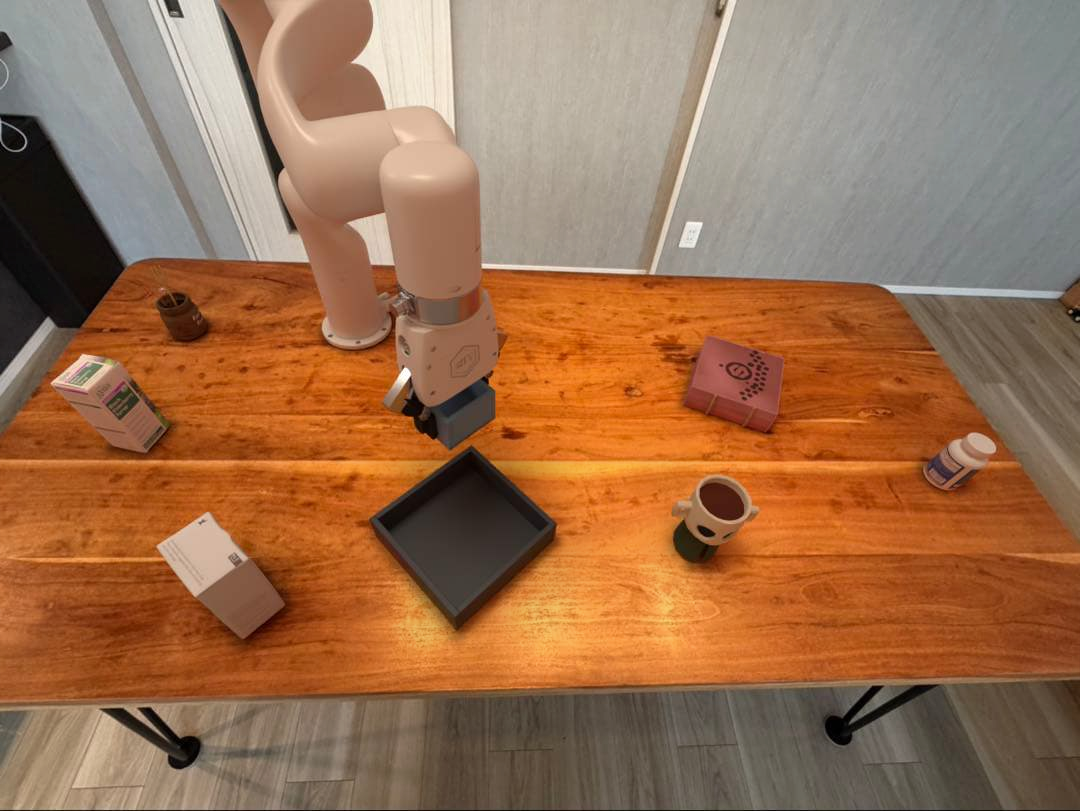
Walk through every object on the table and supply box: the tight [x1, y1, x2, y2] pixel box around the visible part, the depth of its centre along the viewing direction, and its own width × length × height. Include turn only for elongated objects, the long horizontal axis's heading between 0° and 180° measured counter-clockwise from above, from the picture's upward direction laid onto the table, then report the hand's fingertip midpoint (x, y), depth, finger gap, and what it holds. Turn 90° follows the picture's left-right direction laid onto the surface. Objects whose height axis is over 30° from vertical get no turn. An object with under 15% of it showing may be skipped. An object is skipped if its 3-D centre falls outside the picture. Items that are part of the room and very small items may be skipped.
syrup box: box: [50, 353, 171, 454], centre depth 74 cm, size 6×6×14 cm
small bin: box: [407, 379, 496, 452], centre depth 59 cm, size 7×7×5 cm
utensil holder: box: [149, 264, 208, 341], centre depth 90 cm, size 6×6×12 cm
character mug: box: [671, 473, 761, 564], centre depth 69 cm, size 11×7×13 cm, turn 88°
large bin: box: [368, 444, 558, 631], centre depth 70 cm, size 18×18×5 cm
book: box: [683, 334, 786, 433], centre depth 92 cm, size 14×15×5 cm
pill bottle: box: [922, 432, 997, 492], centre depth 81 cm, size 5×5×10 cm
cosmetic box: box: [156, 511, 286, 640], centre depth 59 cm, size 8×6×15 cm
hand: (453, 413), depth 61 cm, fingers closed on small bin, 7 cm apart
